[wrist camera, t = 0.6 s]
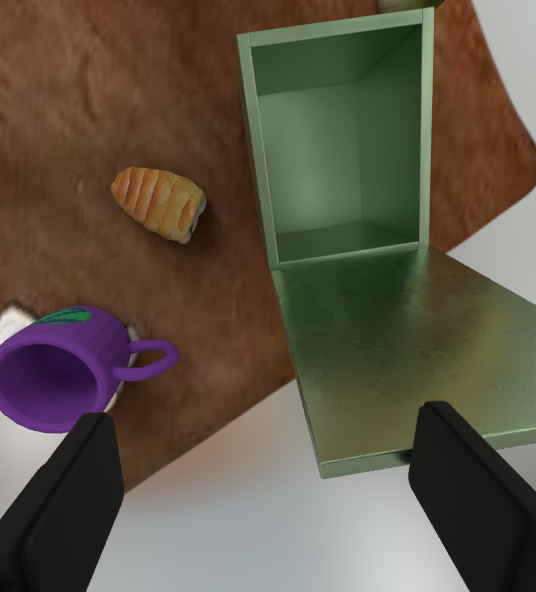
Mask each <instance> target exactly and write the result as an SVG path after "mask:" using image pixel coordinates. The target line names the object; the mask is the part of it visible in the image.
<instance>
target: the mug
mask: <svg viewBox="0 0 536 592" xmlns="http://www.w3.org/2000/svg"><path fill="white" fill-rule="evenodd" d="M144 351H163V352H165V353H166V356H165V357H164V358H162V359H160V360H159V361H156V362H154V363H152V364H150V365H147V366H144V367H140V368H128V367H127V366H128V363H129V360H130V356H131V354H134V353H138V352H144ZM178 359H179V352H178V350H177V348H176V346H175V345H174V344H172V343H171V342H170V341H166V340H160V339H155V340H140V341H135V342H131V341H130V338H129V335H128V332H127V330H126V329H125V327H124V326H123V324H122V323H121V322H120V321H119V320H118V319H117V318H116V317H115V316H113V315H112V314H110V313H108V312H106V311H105V310H102V309H99V308H96V307H92V306H79V305H78V306H72V307H66V308H63V309H61V310H58V311H56V312H53V313H51V314H49V315H47V316H45V317H43V318H41V319H39V320H37V321H36V322H34V323H32V324H30V325H29V326H27V327H25V328H24V329H22V330H20V331H19V332H17V333H16V334H14V335H13V336H11V337H10V338H9V339H7V340H6V341H5V342H3V343H2V344H1V345H0V411H1V412H2V413H3V414H4V415H5V416H7V417H8V418H10V419H11V420H13V421H14V422H15V423H17V424H19V425H21V426H23V427H26V428H28V429H30V430H34V431H38V432H43V433H66V432H69V431H70V430H71V429H72V427H73V426H74V425H75V423H76V422H77V421H78V419H79V418H80V417H81V416H82V415H83V414H84V413H91V412H103V411H104V410H105V408H106V406H107V405H108V403H109V402H110V400H111V398H112V397H113V395H114V393H115V392H116V390H117V388H118V386H119V384H120V382H121V381H142V380H146V379H150V378H153V377H155V376H157V375H159V374H161V373H163V372H165V371H166V370H168V369H170V368H171V367H173V366H174V365H175V364H176V363H177V362H178Z"/></svg>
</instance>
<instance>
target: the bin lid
mask: <svg viewBox="0 0 536 592" xmlns="http://www.w3.org/2000/svg"><path fill="white" fill-rule="evenodd" d="M271 280H272V284H273V288H274V292H275V296H276V300H277V304H278V308H279V312H280V316H281V320H282V324H283V328H284V332H285V336H286V340H287V344H288V348H289V352H290V356H291V360H292V364H293V368H294V372H295V376H296V380H297V384H298V388H299V392H300V396H301V401H302V405H303V408H304V412H305V417H306V421H307V424H308V428H309V433H310V437H311V440H312V445H313V449H314V453H315V457H316V461H317V464H318V469H319V472H320V477H321V478H322V479H327V478H333V477H339V476H345V475H350V474H356V473H361V472H368V471H374V470H379V469H385V468H392V467H397V466H403V465H409V464H410V461H411V454H412V448H413V442H414V436H415V429H416V423H417V417H418V411H419V408H420V407H421V406H423V405H424V403H425V402H426V401H447V402H448V403H449V404H450V405H451V406H452V407H453V408H454V409H455V410H456V411H457V412H458V413H459V414H460V415H461V416H462V417H463V418H464V419H465V420H466V421H467V422H468V423H469V424H470V425H471V426H472V427H473V428H474V429H475V430H476V431H477V432H478V433H479V434H480V435H481V436H482V437H483V438H484V439H485V440H486V441H487V442H488V443H489V445H490V446H491V447H492V448H493V449H494V450H498V449H503V448H509V447H515V446H521V445H527V444H533V443H536V305H535V304H533V303H531V302H529V301H528V300H526V299H524V298H522V297H521V296H519V295H517V294H515V293H514V292H512V291H510V290H508V289H506V288H505V287H503V286H501V285H499V284H498V283H496V282H494V281H492V280H491V279H489V278H487V277H485V276H484V275H482V274H480V273H478V272H477V271H475V270H473V269H471V268H470V267H468V266H466V265H464V264H462V263H461V262H459V261H457V260H455V259H454V258H452V257H450V256H448V255H447V254H445V253H443V252H441V251H440V250H438V249H436V248H434V247H425V248H419V249H412V250H406V251H400V252H393V253H387V254H380V255H374V256H367V257H361V258H354V259H348V260H342V261H335V262H329V263H322V264H316V265H309V266H303V267H297V268H290V269H284V270H277V271H271Z"/></svg>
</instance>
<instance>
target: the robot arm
mask: <svg viewBox="0 0 536 592" xmlns="http://www.w3.org/2000/svg"><path fill="white" fill-rule="evenodd" d="M408 479H409V484H410V487H411V489H412V490H413V492H414V494H415V496H416V498H417V499H418V501H419V503H420V504H421V506H422V508H423V510H424V512H425V513H426V515H427V517H428V519H429V521H430V522H431V524H432V526H433V528H434V529H435V531H436V533H437V535H438V536H439V538H440V540H441V542H442V543H443V545H444V547H445V549H446V550H447V552H448V554H449V556H450V558H451V559H452V561H453V563H454V565H455V566H456V568H457V570H458V572H459V573H460V575H461V577H462V579H463V581H464V582H465V584H466V586H467V588H468V589H469V591H470V592H536V491H535V490H534V489H532V487H531V486H530V485H529V484H528V483H527V482H526V481H525V480H524V479H523V478H522V477H521V476H520V475H519V474H518V473H517V472H516V471H515V470H514V469H513V468H512V467H511V466H510V465H509V464H508V463H507V462H506V461H505V460H504V459H503V458H502V457H501V456H500V455H499V454H498V453H497V452H496V451H495V450H494V449H493V448H492V447H491V446H490V445H489V443H488V442H487V441H486V440H485V439H484V438H483V437H482V436H481V435H480V434H479V433H478V432H477V431H476V430H475V429H474V428H473V427H472V426H471V425H470V424H469V423H468V422H467V421H466V420H465V419H464V418H463V417H462V416H461V415H460V414H459V413H458V412H457V411H456V410H455V409H454V408H453V407H452V406H451V405H450V404H449V403H448V402H447V401H426V402H425V403H424V405H423V406H421V407H420V408H419V411H418V417H417V423H416V429H415V436H414V442H413V448H412V454H411V461H410V467H409V474H408ZM123 497H124V484H123V477H122V471H121V464H120V458H119V451H118V445H117V438H116V432H115V425H114V420H113V418H112V417H108V415H107V413H105V412H91V413H84V414H83V415H82V416H81V417H80V418H79V419H78V421H77V422H76V423H75V425H74V426H73V427H72V429H71V430H70V431H69V433H68V434H67V435H66V437H65V438H64V440H63V441H62V442H61V444H60V445H59V446H58V447H57V449H56V450H55V451H54V453H53V454H52V455H51V457H50V458H49V459H48V461H47V462H46V463H45V464H44V465H42V466H41V467H40V468H39V469H38V470H37V472H36V473H35V475H34V476H33V477H32V478H31V480H30V481H29V482H28V484H27V485H26V486H25V488H24V489H23V490H22V492H21V493H20V494H19V495H18V497H17V498H16V499H15V501H14V502H13V503H12V505H11V506H10V507H9V509H8V510H7V511H6V512H5V514H4V515H3V516H2V518H1V519H0V592H86V590H87V588H88V586H89V583H90V581H91V578H92V576H93V573H94V571H95V568H96V565H97V563H98V561H99V558H100V556H101V554H102V551H103V549H104V546H105V544H106V541H107V539H108V536H109V534H110V531H111V529H112V526H113V524H114V521H115V519H116V517H117V514H118V512H119V509H120V507H121V504H122V501H123Z"/></svg>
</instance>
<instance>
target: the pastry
mask: <svg viewBox="0 0 536 592" xmlns="http://www.w3.org/2000/svg"><path fill="white" fill-rule="evenodd" d="M111 192H112V193H113V196H114V198H115V201H116V202H117V203H118V204H119V205H120V206H121V207H122V208H123V209H124V211H125V212H126V213H127V214H129V215H130V216H131V217H132V218H134V219H135V220H136V221H137V222H139V223H141V224H142V225H143V226H144V227H145V228H146V229H147V230H149V231H154V232H156V233H158V234H161V236H162V237H163V238H165V239H167V240H175V241H178V242H179V243H181V244H185V243H187V242H188V241H189V240H190V238H191V234H192V233H193V231H194V230H195V228H196V224H197V221H198V217H199V215H200V214H201V213H202V212H203V211H204V209H205V206H206V203H207V199H206V195H205V193H204V192H203V191H202V190H201V189H200V188H199V187H198V186H196V185H195V183H194V182H193V181H192V180H190V179H188V178H185V177H181V176H179V175H176V174H174V173H172V172H169V171H162V170H155V169H147V168H136V167H130V168H127V169H125V170H123V171H122V172H120V173H119V174H118V175H117V177H116V179H115V182H114V183H113V184H112V186H111Z"/></svg>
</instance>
